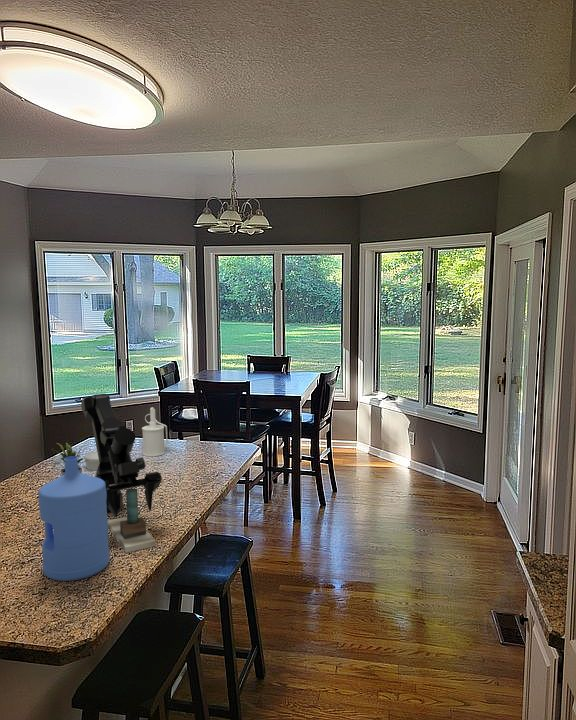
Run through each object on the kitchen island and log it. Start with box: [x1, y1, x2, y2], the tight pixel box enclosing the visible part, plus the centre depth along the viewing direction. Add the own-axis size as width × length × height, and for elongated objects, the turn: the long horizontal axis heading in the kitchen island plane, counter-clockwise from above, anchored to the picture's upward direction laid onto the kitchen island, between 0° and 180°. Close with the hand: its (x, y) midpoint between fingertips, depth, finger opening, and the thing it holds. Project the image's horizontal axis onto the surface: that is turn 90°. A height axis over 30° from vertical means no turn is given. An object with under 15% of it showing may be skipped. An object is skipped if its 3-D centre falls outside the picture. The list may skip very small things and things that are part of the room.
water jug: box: [38, 455, 111, 582], centre depth 138 cm, size 16×16×28 cm
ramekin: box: [83, 450, 100, 472], centre depth 219 cm, size 11×11×5 cm
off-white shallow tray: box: [107, 516, 157, 554], centre depth 157 cm, size 20×8×2 cm, turn 31°
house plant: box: [52, 442, 91, 476], centre depth 197 cm, size 14×14×16 cm
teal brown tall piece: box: [120, 487, 147, 539], centre depth 154 cm, size 4×6×12 cm, turn 121°
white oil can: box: [141, 407, 168, 458], centre depth 237 cm, size 10×9×20 cm
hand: (133, 513), depth 153 cm, fingers open, 9 cm apart
